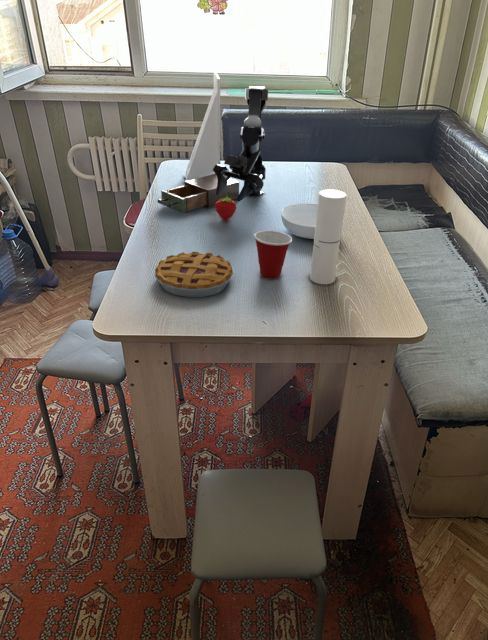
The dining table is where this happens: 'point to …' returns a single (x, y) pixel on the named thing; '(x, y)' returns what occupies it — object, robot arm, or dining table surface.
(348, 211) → the dining table surface
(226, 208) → the strawberry
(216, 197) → the cabinet
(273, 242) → the plastic cup
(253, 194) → the robot arm
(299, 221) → the serving bowl
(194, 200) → the drawer
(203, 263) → the pie
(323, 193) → the cylindrical container
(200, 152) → the white bracket plate
